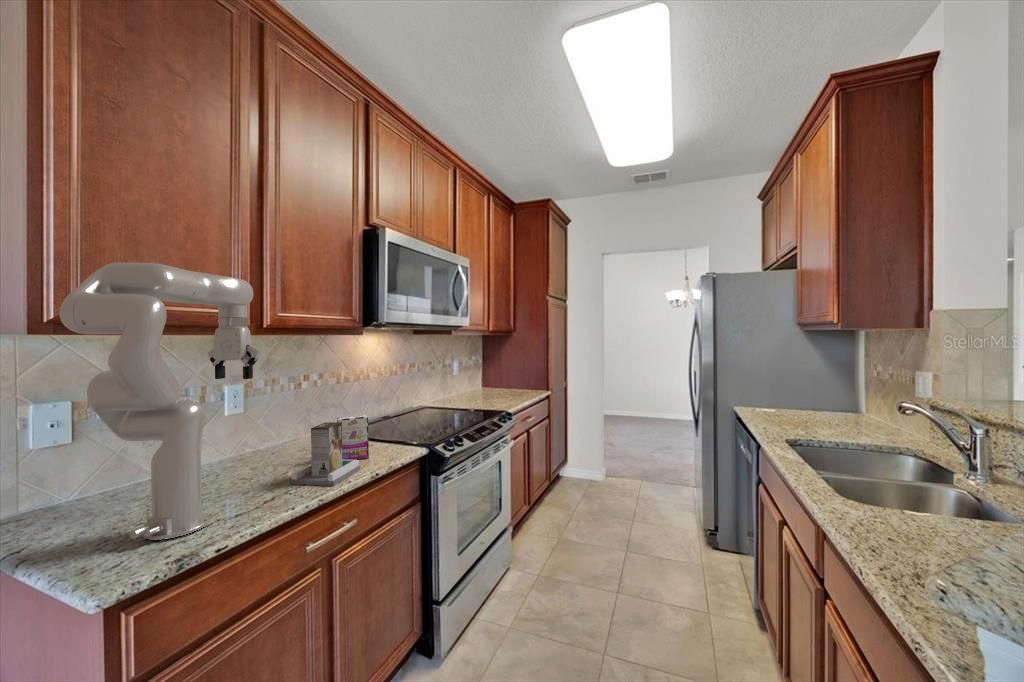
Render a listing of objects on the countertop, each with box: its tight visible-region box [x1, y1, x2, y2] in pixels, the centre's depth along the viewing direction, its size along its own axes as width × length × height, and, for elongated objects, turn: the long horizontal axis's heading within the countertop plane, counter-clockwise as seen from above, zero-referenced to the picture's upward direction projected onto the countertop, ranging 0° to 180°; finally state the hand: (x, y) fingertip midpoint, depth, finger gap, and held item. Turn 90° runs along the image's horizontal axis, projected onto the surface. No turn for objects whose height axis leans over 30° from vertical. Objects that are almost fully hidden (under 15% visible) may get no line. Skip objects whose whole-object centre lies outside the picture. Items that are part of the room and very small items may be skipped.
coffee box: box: [310, 421, 343, 477], centre depth 137 cm, size 9×6×16 cm
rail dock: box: [290, 459, 361, 487], centre depth 137 cm, size 16×15×4 cm
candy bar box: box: [336, 414, 370, 460], centre depth 157 cm, size 11×5×16 cm, turn 115°
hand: (234, 378), depth 127 cm, fingers open, 9 cm apart
